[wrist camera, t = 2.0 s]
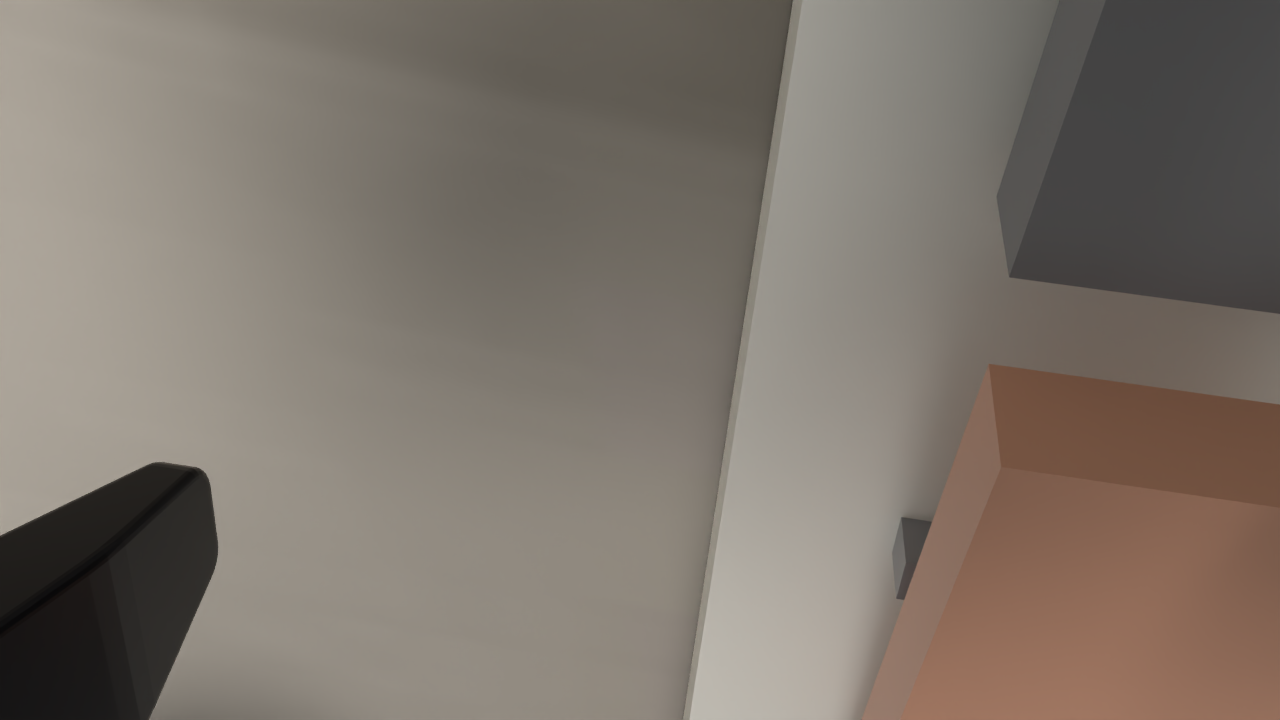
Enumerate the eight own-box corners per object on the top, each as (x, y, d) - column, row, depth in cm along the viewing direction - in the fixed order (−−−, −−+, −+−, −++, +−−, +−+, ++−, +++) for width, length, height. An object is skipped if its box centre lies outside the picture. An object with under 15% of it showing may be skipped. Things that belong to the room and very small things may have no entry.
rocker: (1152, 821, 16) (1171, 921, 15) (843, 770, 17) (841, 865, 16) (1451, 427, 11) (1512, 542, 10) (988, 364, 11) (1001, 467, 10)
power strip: (1005, 1036, 29) (1046, 1325, 24) (644, 972, 29) (608, 1240, 24) (1824, -745, 12) (2596, -1072, 7) (916, -810, 12) (987, -1156, 7)
